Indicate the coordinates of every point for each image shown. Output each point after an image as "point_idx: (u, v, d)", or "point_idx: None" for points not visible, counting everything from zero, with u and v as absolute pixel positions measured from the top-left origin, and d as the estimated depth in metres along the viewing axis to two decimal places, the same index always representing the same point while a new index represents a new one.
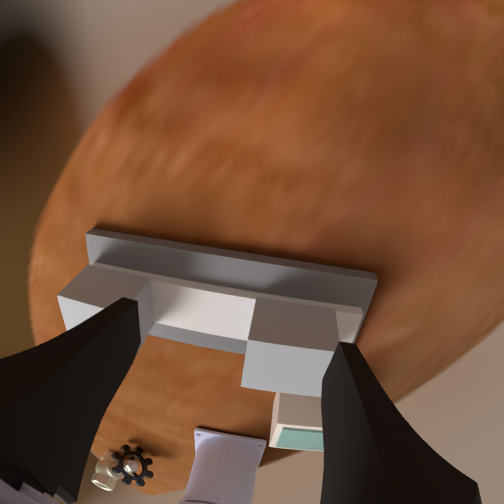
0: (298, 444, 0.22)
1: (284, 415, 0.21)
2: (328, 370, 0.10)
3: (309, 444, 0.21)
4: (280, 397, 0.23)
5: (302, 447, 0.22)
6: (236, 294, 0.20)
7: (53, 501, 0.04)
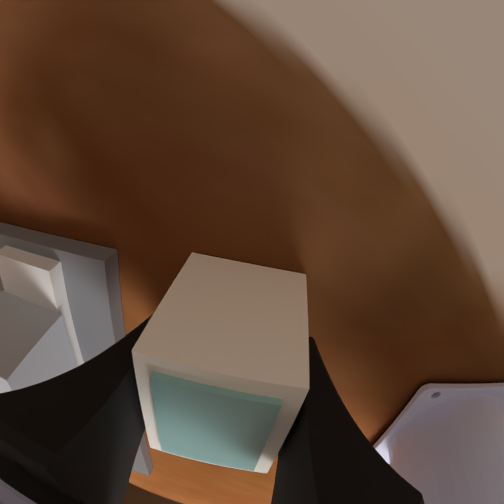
0: (232, 444, 0.07)
1: None
2: None
3: (231, 428, 0.07)
4: None
5: (253, 440, 0.07)
6: None
7: None
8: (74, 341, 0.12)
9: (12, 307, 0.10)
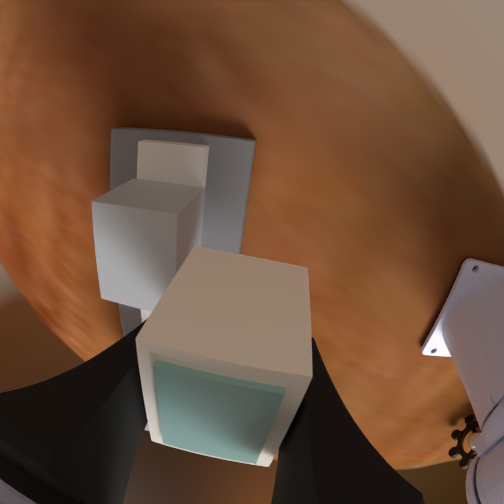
0: (235, 435, 0.08)
1: None
2: None
3: (234, 418, 0.07)
4: None
5: (256, 431, 0.07)
6: None
7: None
8: None
9: (152, 184, 0.15)
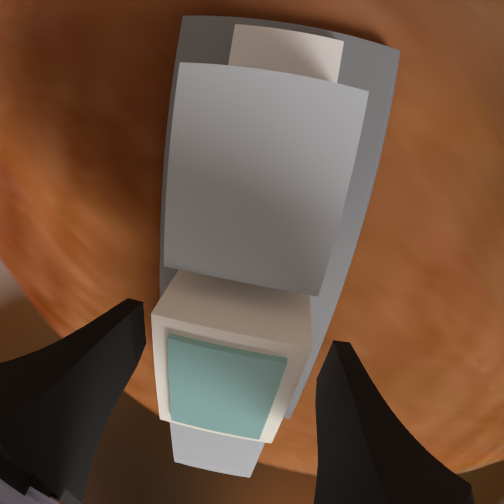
0: (240, 408, 0.08)
1: None
2: (323, 369, 0.10)
3: (240, 390, 0.08)
4: None
5: (260, 403, 0.08)
6: None
7: (53, 501, 0.04)
8: None
9: None
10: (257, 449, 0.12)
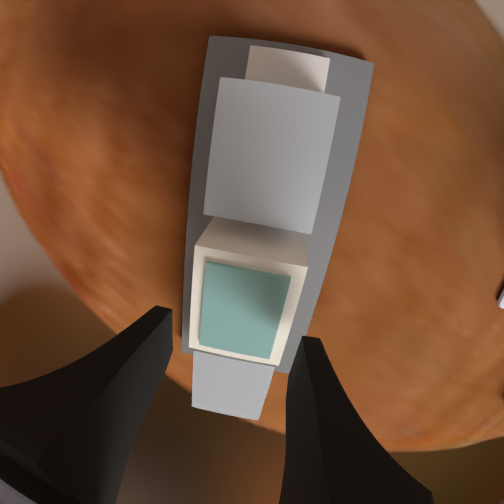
0: (256, 325, 0.12)
1: None
2: (293, 365, 0.11)
3: (256, 306, 0.12)
4: None
5: (271, 318, 0.12)
6: None
7: None
8: None
9: None
10: (266, 383, 0.15)
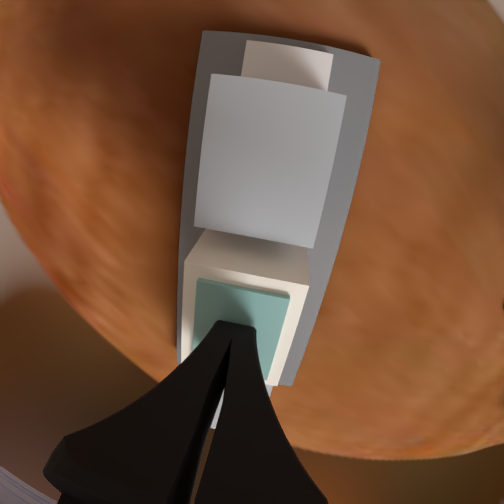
0: None
1: None
2: None
3: None
4: None
5: (268, 339, 0.11)
6: None
7: (53, 501, 0.04)
8: None
9: None
10: None
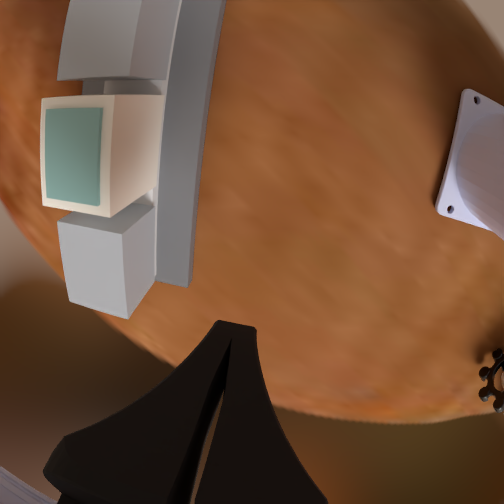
0: (81, 164, 0.11)
1: None
2: None
3: (79, 142, 0.11)
4: None
5: (90, 153, 0.11)
6: None
7: (53, 501, 0.04)
8: (174, 30, 0.13)
9: None
10: (119, 259, 0.14)
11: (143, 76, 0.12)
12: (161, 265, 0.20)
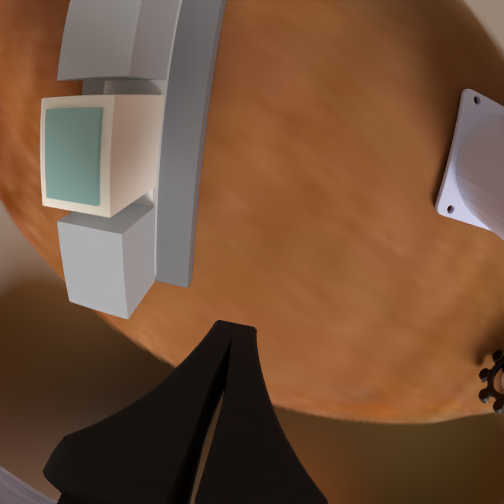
0: (81, 164, 0.11)
1: None
2: None
3: (79, 142, 0.11)
4: None
5: (90, 153, 0.11)
6: None
7: (53, 501, 0.04)
8: (174, 30, 0.13)
9: None
10: (119, 259, 0.14)
11: (143, 76, 0.12)
12: (161, 265, 0.20)
